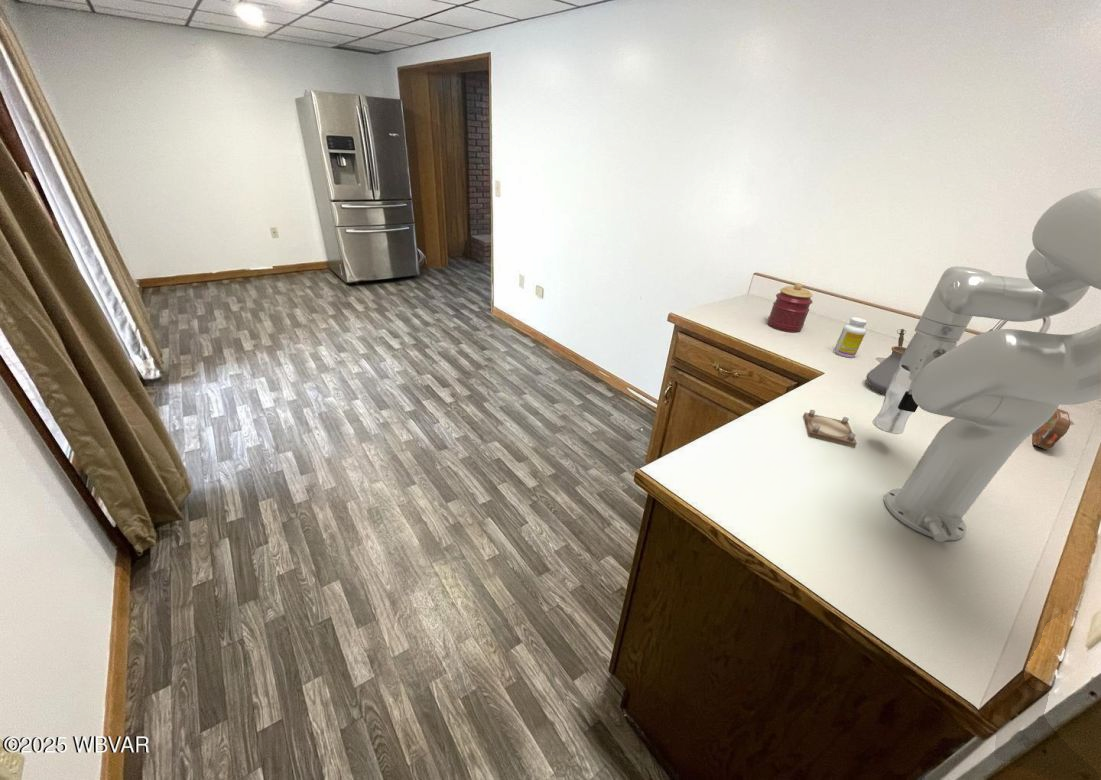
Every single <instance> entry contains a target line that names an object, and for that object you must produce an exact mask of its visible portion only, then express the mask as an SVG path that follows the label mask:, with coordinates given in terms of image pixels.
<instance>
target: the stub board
mask: <svg viewBox="0 0 1101 780" xmlns="http://www.w3.org/2000/svg"><path fill="white" fill-rule="evenodd" d="M803 420H804V425H805V428H806V432H807V435H808V437H809V438H814V439H817V440H818V439H819V440H821V441H825V442H831V443H835V444H838V445H843V446H848V447H851V448H856V446H857V444H858V442H857V440H856V436H857V434H855V433H854V432H853V431H852V428H851V426H850V424H849V418H848V417H846V416H843V417H842V420H841V419H837V418H832V417H828V416H823V415H818V414H816V410H815V409H810V410H809V412H804V414H803Z"/></svg>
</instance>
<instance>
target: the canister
mask: <svg viewBox="0 0 1101 780" xmlns="http://www.w3.org/2000/svg"><path fill="white" fill-rule="evenodd" d="M779 291H780V292H779V293H778V292H777V293H776V294H775V296H776V299H775V300H774V301H773V303H772V304H773V305H772V307H771V311H770V314H769V315H768V319H767V325H768V326H769V327H771V328H773V329H775V330H778V331H782V332H786V333H799V332H800V331H801V332H802V329H803V328H804V323H805V321H806V319H807V317H808V313H809V312H810V306H811V305H812V304H813V299H811V298H812V297H813V294H812V293H811V292H810V290H808V289H807V288H805V287H804V288H803V284H802V283H795V285H794V286H793V285H788V286H785V287H782V288H780V290H779Z"/></svg>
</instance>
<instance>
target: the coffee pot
mask: <svg viewBox="0 0 1101 780" xmlns="http://www.w3.org/2000/svg"><path fill="white" fill-rule="evenodd" d="M898 331H900V332H898ZM896 333H897V334H898V335H899V337H898V342H897V343H898V344H897V345H896V346H892V347H891V354H890V355H888V356H887V357H886V358H885V359H884V360H882V361H881V362H880V363H879V364H877V365H876V366H875V367H874V368H873V369H871V370H870V371H869V372H868V373H867V374H866V381H867V382H868V383H867V384H868V385H869V386H870V388H871V389H872V390H874V391H876V392H877V393H881V394H883V395H885V394H886V391H887V388H888V385H889V383H890V381H891V379H892V377H893V375H894V374H895V372H896V371H897V369H898V368H899V362H900V360H901V357H902V355H903V353H904V352H905V350H906V348H907V347H903V344H904V340H905V337H904V335H905V334H906V333H907V331H906V330H905V329H904V328H901V329H897V331H896Z"/></svg>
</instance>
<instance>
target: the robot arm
mask: <svg viewBox="0 0 1101 780" xmlns="http://www.w3.org/2000/svg"><path fill="white" fill-rule="evenodd" d="M1031 241H1032V245H1033V248H1034V249H1032V251H1031V252H1030V253H1029V255H1028V256H1027V259H1026V262H1025V273H1026V275H1027V277H1028V278H1020V277H1013V276H1005V275H993V274H992V273H991V272H989V271H987V270H983V269H979V268H975V267H974V268H973V267H967V266H950V267H948V268H947V269H945V270H944V272H943V273H942V275H941V277H940V279H939V281H938V283H937V285H936V286H935V287H934V288H935V289H934V290H933V292H932V294H931V296H930V299H929V300H928V302H927V305H926V306H925V308H924V310H923V312H922V314H921V316H920V318H919V321H918V322H917V324H916V326H915V329H914V332H915V333H914V335H913V336H912V338H911V339H910V341H909V343H908V344H907V346H906V347H905V348H906V350H905V352H904V353H903V355H902V357H901V360H900V362H899V366H900V364H903V365H902V367H903V368H904V369H906V370H908V371H910V374H909V379H910V380H911V381H912V382H911V384H910V387H909V390H908V393H907V392H905V394H904V396H903V398H902V400H901V401H900V403H899V405H898V409H900V410H905V411H910V412H913V413H915V412H916V411H917V410H918V408H920V409H921V410H923V411H925V412H927V413H930V414H933V415H937V416H943V417H947V418H953V419H950V421H948V422H947V423H945V424H944V425H943V426H942V427H940V429H939V430H938V432H937V433H936V434H935V436H934V438H933V439H932V440H931V442H930V444H929V445H928V446H927V448H926V449H925V451H924V453H923V455H922V456H921V458H920V459H919V461H918V462H917V464H916V465H915V467H914V469H913V470H912V471H911V473H910V475H909V476H908V478H907V479H906V481H905V483H904V484H903V485H902V487H901V488H892V489H890V490H888V491H887V492H886V494H885V496H884V504H885V506H886V507H887V510H889V512H890V513H891V514H892V515H893V516H894V518H896V519H897V520H898V521H900V522H901V523H903V524H904V525H905V526H907V527H908V528H909V529H912V530H914V531H915V532H918V533H920V534H922V535H925V536H928V537H931V538H933V540H935V541H936V542H938V543H939V542H941V543H943V542H945V541H958V540H960V539H961V538H963V536H964V535H965V534H966V533H967V526H966V522H964V520H963V518H964V516H965V515H966V514H967V512H968V511H969V510H970V508H971V507H972V506H973V504H974V503H975V502H976V501H977V499H978V498H979V497H980V495H981V494H982V493H983V492H984V490H985V489H986V487H988V484H989V483H990V482H991V481H992V479H994V477H996V476H995V475H996V474H997V473H998V472H999V471H1000V469H1001V468H1002V467H1003V466H1004V464H1005V463H1006V462H1007V461H1008V459H1009V458H1010V457H1011V456H1012V455H1013V453H1014V452H1015V451H1016V450H1017V449H1018V448H1019V447H1020V446H1021V444H1022V443H1023V442H1025V440H1026V439H1028V438H1029V437H1030V436H1031V435H1032V433H1033V432H1035V431H1036V430H1037V429H1039V428H1040V427H1041V426H1042V425H1043V424H1045V423H1046V422H1047V421H1048V420H1049V419H1050V418H1051V417H1052V416H1053V415H1054V413H1055V412H1056V410H1057V408H1058V409H1059V407H1060V405H1061V406H1070V405H1071V406H1073V405H1074V406H1075V405H1080V404H1085V403H1090V402H1093V401H1095V400H1099V399H1101V323H1100V324H1097V325H1096V326H1093V327H1090V328H1089V329H1088V328H1087V329H1085V330H1082V331H1079V332H1075V333H1073V334H1060V333H1059V334H1057V333H1056V334H1055V333H1046V332H1037V331H1031V330H1025V329H1024V330H1023V329H1016V328H1015V329H1013V328H1012V329H1011V328H1001V329H1000V328H999V329H994V330H988V331H985V332H982V333H978V334H977V335H975V336H973V337H971V338H969V339H967V340H965V341H964V342H962V343H960V344H959V345H957V344H958V343H957V342H959V341H960V339H961V338H962V336H963V334H964V332H965V331H966V329H967V327H968V326H969V324H970V322H971V320H972V318H973V317H976V318H987V319H995V320H1001V321H1006V322H1015V323H1017V322H1018V323H1019V322H1020V323H1023V322H1024V323H1026V322H1031V321H1033V322H1034V321H1037V320H1042V319H1045V318H1049V317H1053V316H1056V315H1058V314H1061V313H1064V312H1067V311H1069V310H1070V309H1072V307H1074V306H1075V305H1077V304H1078V303H1079V302H1080V301H1081V300H1082V299H1083V298H1084V297H1085V295H1086V293H1088V291H1089V289H1090V287H1093V288H1095V289H1098V290H1100V291H1101V187H1093V188H1087V189H1086V188H1085V189H1082V190H1079V191H1075V192H1073V193H1071V194H1069V195H1066V196H1065V197H1062V198H1061V199H1060V200H1058V201H1056V202H1055V203H1054V204H1052V205H1051V206H1049V208H1048V209H1047V210H1046V211H1044V213H1042V215H1041V216H1040V217H1039V219H1038V220H1037V222H1036V224H1035V225H1034V228H1033V231H1032V236H1031Z"/></svg>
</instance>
